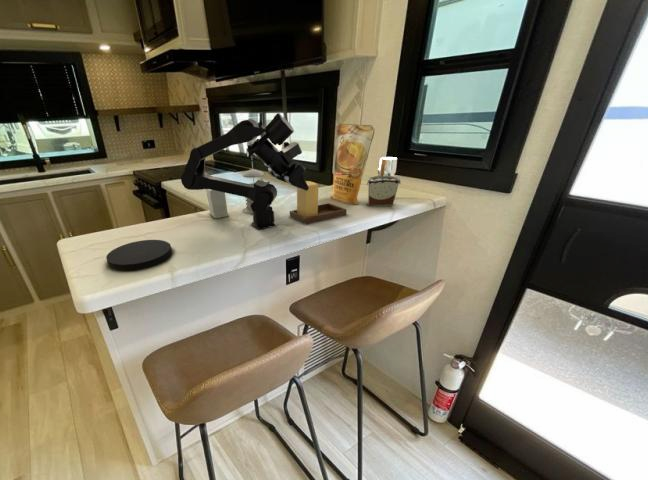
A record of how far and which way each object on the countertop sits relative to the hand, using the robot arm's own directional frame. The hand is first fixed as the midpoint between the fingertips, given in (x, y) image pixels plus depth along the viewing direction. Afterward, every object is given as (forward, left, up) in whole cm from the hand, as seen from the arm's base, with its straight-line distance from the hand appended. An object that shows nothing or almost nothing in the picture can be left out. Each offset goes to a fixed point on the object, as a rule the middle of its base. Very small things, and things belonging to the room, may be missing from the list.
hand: (301, 186), depth 106 cm
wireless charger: (-56, -2, -12) cm, 57 cm away
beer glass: (+45, +5, -12) cm, 46 cm away
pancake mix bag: (+29, +10, -12) cm, 33 cm away
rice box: (+2, -1, -11) cm, 11 cm away
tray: (+7, -1, -11) cm, 13 cm away
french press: (-8, +20, -12) cm, 25 cm away
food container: (+36, -2, -12) cm, 37 cm away
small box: (-23, +24, -12) cm, 36 cm away
